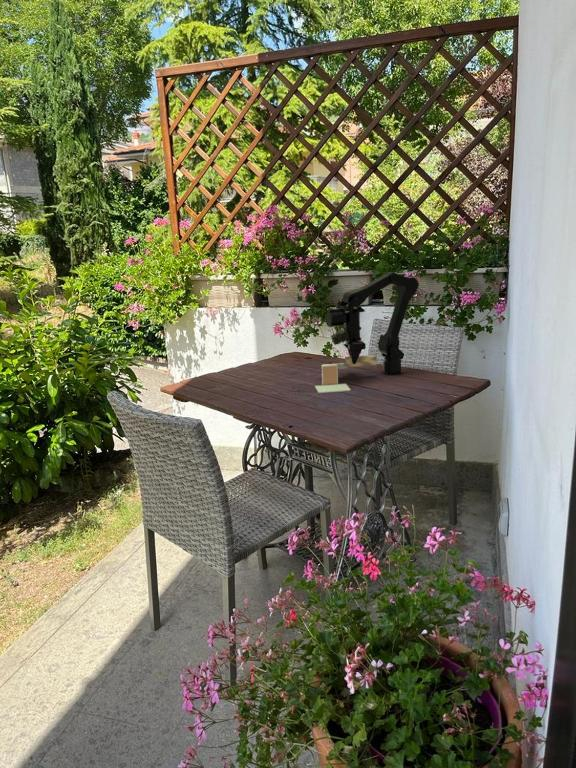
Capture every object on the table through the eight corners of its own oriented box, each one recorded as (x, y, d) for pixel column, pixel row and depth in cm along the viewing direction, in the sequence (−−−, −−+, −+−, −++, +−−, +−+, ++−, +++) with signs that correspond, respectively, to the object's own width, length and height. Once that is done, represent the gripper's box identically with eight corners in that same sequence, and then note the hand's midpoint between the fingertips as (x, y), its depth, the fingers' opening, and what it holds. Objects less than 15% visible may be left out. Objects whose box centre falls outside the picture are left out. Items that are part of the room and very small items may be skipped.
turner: (373, 362, 229) (373, 353, 228) (377, 366, 222) (377, 357, 221) (322, 365, 227) (321, 357, 226) (325, 369, 221) (324, 361, 220)
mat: (345, 384, 217) (345, 383, 217) (350, 390, 209) (350, 389, 209) (315, 386, 216) (315, 385, 216) (318, 393, 208) (318, 392, 208)
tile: (337, 384, 219) (336, 363, 217) (338, 385, 218) (337, 364, 215) (321, 385, 219) (321, 365, 217) (322, 386, 217) (321, 366, 215)
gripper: (328, 321, 229) (329, 359, 233) (336, 329, 211) (337, 370, 215) (355, 320, 230) (356, 357, 234) (365, 327, 212) (366, 367, 216)
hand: (353, 363), depth 225 cm, fingers closed on turner, 3 cm apart
